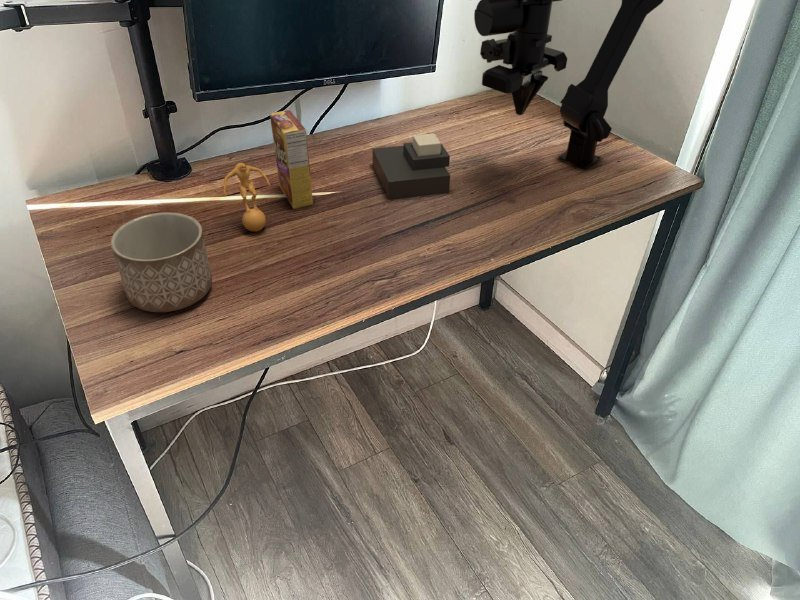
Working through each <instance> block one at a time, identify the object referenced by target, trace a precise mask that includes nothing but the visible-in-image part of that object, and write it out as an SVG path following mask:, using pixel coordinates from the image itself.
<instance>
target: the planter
mask: <svg viewBox="0 0 800 600" xmlns="http://www.w3.org/2000/svg"><path fill="white" fill-rule="evenodd" d="M110 247H111V250H112V253H113V254H112V255H113V256H114V261H115V263H116V266H117V270H118V274H119V276H120V279H121V282H122V286H123V289H124V292H125V295H126V298H127V300H128V301H129V302H130V304H132V305H133V306H134V307H135V308H137V309H139V310H142V311H145V312H150V313H167V312H168V313H169V312H174V311H180V310H182V309H186V308H188V307H190V306H193V305H195V304H196V303H197V302H199V301H200V300H202V299H203V298H204V297H205V296H206V295H207V293H209V291H210V289H211V287H212V283H213V277H212V272H211V267H210V262H209V257H208V253H207V247H206V243H205V237H204V232H203V228H202V225H201V223H200V222H199V220H197V219H195V218H194V217H192V216H190V215H187V214H184V213H181V212H180V213H179V212H167V211H165V212H156V213H150V214H146V215H142V216H138V217H136V218H133V219H131V220H129V221H127V222H125V223H124V224H123V225H121V226H120V227H119V228H118V229H117V230H115V231H114V233H113V235H112V236H111V239H110Z"/></svg>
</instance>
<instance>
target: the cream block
mask: <svg viewBox="0 0 800 600" xmlns="http://www.w3.org/2000/svg"><path fill="white" fill-rule="evenodd" d="M412 142H413V149H414V151H415V152H416V154H417V156H428V155H438V154H440V153H441V144H442V142H441V141H440V140H439V138H438V136H437V135H436V133H425V134H414V135H412Z"/></svg>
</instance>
